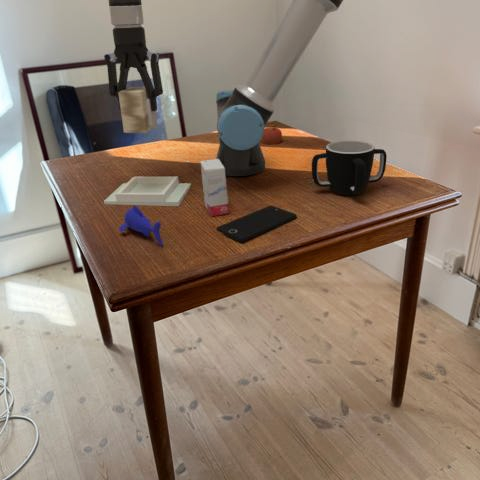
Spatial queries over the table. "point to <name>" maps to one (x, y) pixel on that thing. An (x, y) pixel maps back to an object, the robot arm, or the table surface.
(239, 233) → the cell phone
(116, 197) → the chassis bay
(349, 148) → the mug
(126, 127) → the tan wooden block
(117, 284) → the table surface
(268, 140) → the apple
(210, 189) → the ink box
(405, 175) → the table surface
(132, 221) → the fish toy
